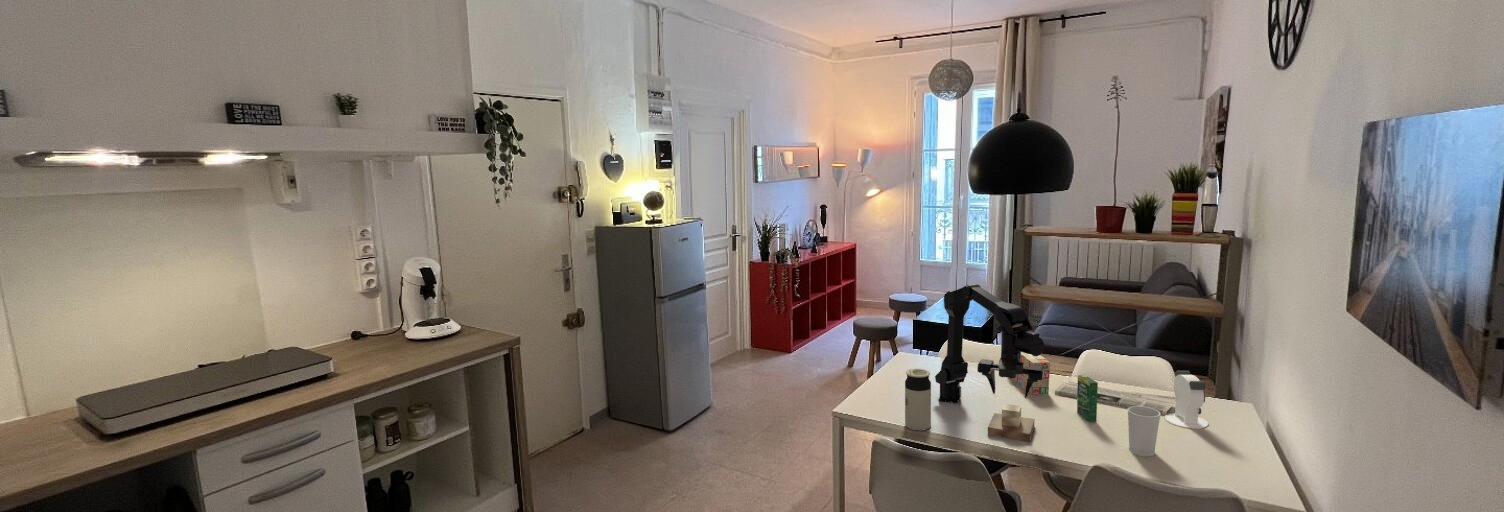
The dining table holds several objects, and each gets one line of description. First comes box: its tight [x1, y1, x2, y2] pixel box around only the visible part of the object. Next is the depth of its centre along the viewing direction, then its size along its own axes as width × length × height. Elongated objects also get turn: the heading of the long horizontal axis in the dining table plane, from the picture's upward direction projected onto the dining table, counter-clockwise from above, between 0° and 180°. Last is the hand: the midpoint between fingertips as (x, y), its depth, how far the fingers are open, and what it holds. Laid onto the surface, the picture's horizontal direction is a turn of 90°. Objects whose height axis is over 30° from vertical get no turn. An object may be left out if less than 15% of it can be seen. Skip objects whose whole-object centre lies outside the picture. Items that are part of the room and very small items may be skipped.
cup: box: [1127, 406, 1162, 457], centre depth 187 cm, size 8×8×12 cm
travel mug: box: [904, 368, 932, 431], centre depth 210 cm, size 8×8×18 cm
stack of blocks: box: [1011, 352, 1051, 396], centre depth 243 cm, size 21×6×12 cm, turn 2°
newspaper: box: [1054, 381, 1176, 416], centre depth 226 cm, size 35×12×4 cm, turn 50°
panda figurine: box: [1164, 370, 1209, 430], centre depth 205 cm, size 12×11×15 cm
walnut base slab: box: [987, 412, 1035, 443], centre depth 205 cm, size 12×12×2 cm
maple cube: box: [1001, 403, 1022, 427], centre depth 204 cm, size 5×5×5 cm
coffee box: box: [1076, 374, 1099, 423], centre depth 212 cm, size 8×3×13 cm, turn 0°
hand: (1009, 395), depth 205 cm, fingers open, 9 cm apart
